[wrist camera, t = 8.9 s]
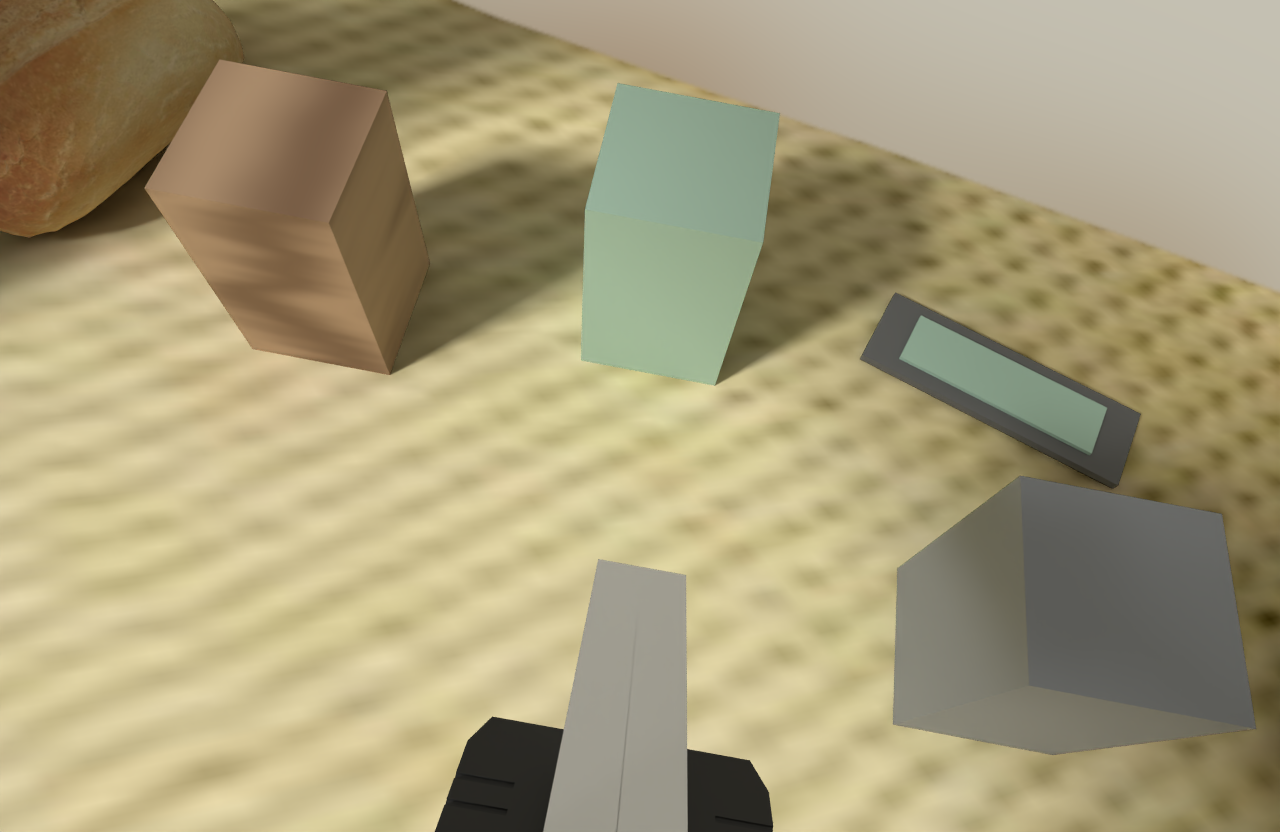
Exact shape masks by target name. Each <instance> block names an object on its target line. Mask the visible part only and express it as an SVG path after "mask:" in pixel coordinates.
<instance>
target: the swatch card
mask: <svg viewBox="0 0 1280 832" xmlns="http://www.w3.org/2000/svg"><path fill="white" fill-rule="evenodd" d="M860 359H861V360H863V361H865V362H867V363H869V364H871V365H872V366H874V367H876V368H878V369H880V370H882V371H884V372H886V373H888V374H890V375H892V376H894V377H896V378H898V379H900V380H902V381H904V382H906V383H908V384H910V385H912V386H913V387H915V388H917V389H919V390H921V391H923V392H925V393H927V394H929V395H931V396H933V397H935V398H937V399H939V400H941V401H943V402H945V403H947V404H949V405H951V406H952V407H954V408H956V409H958V410H960V411H962V412H964V413H966V414H968V415H970V416H972V417H974V418H976V419H978V420H980V421H982V422H984V423H986V424H988V425H990V426H992V427H993V428H995V429H997V430H999V431H1001V432H1003V433H1005V434H1007V435H1009V436H1011V437H1013V438H1015V439H1017V440H1019V441H1021V442H1023V443H1025V444H1027V445H1029V446H1031V447H1032V448H1034V449H1036V450H1038V451H1040V452H1042V453H1044V454H1046V455H1048V456H1050V457H1052V458H1054V459H1056V460H1058V461H1060V462H1062V463H1064V464H1066V465H1068V466H1070V467H1072V468H1073V469H1075V470H1077V471H1079V472H1081V473H1083V474H1085V475H1087V476H1089V477H1091V478H1093V479H1095V480H1097V481H1099V482H1101V483H1103V484H1105V485H1107V486H1109V487H1111V488H1112V489H1113V488H1114V487H1116V486H1118V484H1119V481H1120V478H1121V475H1122V472H1123V469H1124V465H1125V462H1126V459H1127V456H1128V453H1129V450H1130V446H1131V443H1132V440H1133V437H1134V434H1135V431H1136V427H1137V424H1138V421H1139V418H1140V415H1141V414H1140V413H1138V412H1136V411H1134V410H1132V409H1130V408H1128V407H1126V406H1124V405H1122V404H1120V403H1118V402H1116V401H1114V400H1112V399H1110V398H1108V397H1106V396H1104V395H1101V394H1099V393H1097V392H1095V391H1093V390H1091V389H1089V388H1087V387H1085V386H1083V385H1081V384H1079V383H1077V382H1075V381H1073V380H1071V379H1069V378H1067V377H1065V376H1063V375H1061V374H1059V373H1057V372H1055V371H1053V370H1051V369H1049V368H1047V367H1045V366H1043V365H1041V364H1039V363H1037V362H1035V361H1033V360H1031V359H1029V358H1027V357H1025V356H1023V355H1021V354H1019V353H1017V352H1015V351H1013V350H1011V349H1008V348H1006V347H1004V346H1002V345H1000V344H998V343H996V342H994V341H992V340H990V339H988V338H986V337H984V336H982V335H980V334H978V333H976V332H974V331H972V330H970V329H968V328H966V327H964V326H962V325H960V324H958V323H956V322H954V321H952V320H950V319H948V318H946V317H944V316H942V315H940V314H938V313H936V312H934V311H932V310H930V309H928V308H926V307H924V306H922V305H920V304H917V303H915V302H913V301H911V300H909V299H907V298H905V297H903V296H901V295H899V294H897V293H895V294H894V295H893V297H892V299H891V301H890V303H889V305H888V306H887V308H886V310H885V312H884V314H883V316H882V318H881V320H880V322H879V324H878V326H877V327H876V329H875V331H874V333H873V335H872V337H871V339H870V341H869V343H868V345H867V347H866V348H865V350H864V352H863V354H862V356H861V358H860Z"/></svg>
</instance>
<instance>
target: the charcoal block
mask: <svg viewBox="0 0 1280 832" xmlns="http://www.w3.org/2000/svg"><path fill="white" fill-rule="evenodd" d="M893 725H899V726H904V727H909V728H914V729H919V730H925V731H930V732H935V733H940V734H946V735H951V736H956V737H961V738H967V739H972V740H977V741H982V742H987V743H993V744H998V745H1003V746H1008V747H1014V748H1019V749H1024V750H1029V751H1035V752H1040V753H1045V754H1050V755H1056V754H1064V753H1072V752H1080V751H1088V750H1095V749H1103V748H1111V747H1119V746H1127V745H1134V744H1142V743H1150V742H1158V741H1166V740H1173V739H1181V738H1189V737H1197V736H1204V735H1212V734H1220V733H1228V732H1236V731H1243V730H1251V729H1256V725H1255V719H1254V712H1253V706H1252V700H1251V694H1250V687H1249V681H1248V675H1247V668H1246V662H1245V656H1244V650H1243V643H1242V637H1241V631H1240V624H1239V618H1238V612H1237V606H1236V599H1235V593H1234V587H1233V580H1232V574H1231V568H1230V562H1229V555H1228V549H1227V543H1226V536H1225V530H1224V524H1223V518H1222V514H1220V513H1214V512H1209V511H1204V510H1198V509H1193V508H1188V507H1183V506H1177V505H1172V504H1167V503H1162V502H1156V501H1151V500H1146V499H1140V498H1135V497H1130V496H1125V495H1119V494H1114V493H1109V492H1103V491H1098V490H1093V489H1088V488H1082V487H1077V486H1072V485H1067V484H1061V483H1056V482H1051V481H1045V480H1040V479H1035V478H1030V477H1024V476H1019V477H1018V478H1017V479H1015V480H1014V481H1013V482H1011V483H1010V484H1009V485H1007V486H1006V487H1005V488H1003V489H1002V490H1001V491H999V492H998V493H997V494H995V495H994V496H993V497H991V498H990V499H989V500H987V501H986V502H985V503H983V504H982V505H981V506H979V507H978V508H977V509H976V510H974V511H973V512H972V513H970V514H969V515H968V516H966V517H965V518H964V519H962V520H961V521H960V522H958V523H957V524H956V525H954V526H953V527H952V528H950V529H949V530H948V531H946V532H945V533H944V534H942V535H941V536H940V537H938V538H937V539H936V540H934V541H933V542H932V543H931V544H929V545H928V546H927V547H925V548H924V549H923V550H921V551H920V552H919V553H917V554H916V555H915V556H913V557H912V558H911V559H909V560H908V561H907V562H905V563H904V564H903V565H901V566H900V567H899V568H897V602H896V636H895V670H894V704H893Z"/></svg>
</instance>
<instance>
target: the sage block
mask: <svg viewBox="0 0 1280 832" xmlns="http://www.w3.org/2000/svg"><path fill="white" fill-rule="evenodd" d="M779 116H780V113H775V112H770V111H764V110H759V109H754V108H748V107H743V106H738V105H732V104H727V103H721V102H716V101H711V100H705V99H700V98H695V97H689V96H684V95H679V94H673V93H668V92H662V91H657V90H652V89H646V88H641V87H636V86H630V85H625V84H620V83H618V84H617V88H616V92H615V96H614V99H613V103H612V107H611V111H610V115H609V119H608V123H607V126H606V130H605V134H604V138H603V142H602V146H601V150H600V153H599V157H598V161H597V165H596V169H595V173H594V177H593V180H592V184H591V188H590V192H589V196H588V200H587V204H586V207H585V228H584V266H583V303H582V341H581V360H582V361H587V362H592V363H598V364H603V365H608V366H614V367H619V368H624V369H630V370H635V371H640V372H645V373H651V374H656V375H661V376H667V377H672V378H677V379H683V380H688V381H693V382H699V383H704V384H709V385H714V386H715V384H716V381H717V378H718V375H719V372H720V369H721V366H722V363H723V360H724V357H725V354H726V351H727V348H728V345H729V342H730V339H731V336H732V333H733V330H734V327H735V324H736V321H737V318H738V316H739V313H740V310H741V307H742V304H743V301H744V298H745V295H746V292H747V289H748V286H749V283H750V280H751V277H752V274H753V271H754V268H755V265H756V262H757V259H758V256H759V253H760V250H761V247H762V244H763V240H764V232H765V224H766V216H767V209H768V201H769V193H770V185H771V178H772V170H773V162H774V154H775V147H776V139H777V131H778V123H779Z"/></svg>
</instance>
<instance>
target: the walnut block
mask: <svg viewBox="0 0 1280 832" xmlns="http://www.w3.org/2000/svg"><path fill="white" fill-rule="evenodd" d="M145 190H146V191H147V193H148V194H149V196H150V197H151V199H152V200H153V202H154V203H155V205H156V206H157V208H158V209H159V211H160V212H161V214H162V215H163V217H164V218H165V220H166V221H167V223H168V224H169V225H170V227H171V228H172V230H173V231H174V233H175V234H176V236H177V237H178V239H179V240H180V242H181V243H182V245H183V246H184V248H185V249H186V251H187V252H188V254H189V255H190V257H191V258H192V260H193V261H194V263H195V264H196V266H197V267H198V269H199V270H200V272H201V273H202V274H203V276H204V277H205V279H206V280H207V282H208V283H209V285H210V286H211V288H212V289H213V291H214V292H215V294H216V295H217V297H218V298H219V300H220V301H221V303H222V304H223V306H224V307H225V309H226V310H227V312H228V313H229V315H230V316H231V318H232V319H233V320H234V322H235V323H236V325H237V326H238V328H239V329H240V331H241V332H242V334H243V335H244V337H245V338H246V340H247V341H248V343H249V344H250V346H251V347H252V349H256V350H261V351H267V352H272V353H277V354H282V355H288V356H293V357H298V358H303V359H309V360H314V361H319V362H324V363H330V364H335V365H340V366H345V367H351V368H356V369H361V370H366V371H372V372H377V373H382V374H387V375H390V373H391V371H392V368H393V365H394V362H395V360H396V357H397V354H398V351H399V348H400V346H401V343H402V340H403V337H404V334H405V332H406V329H407V326H408V323H409V320H410V318H411V315H412V312H413V309H414V306H415V304H416V301H417V298H418V295H419V293H420V290H421V287H422V284H423V281H424V279H425V276H426V273H427V270H428V267H429V265H430V262H429V258H428V254H427V250H426V246H425V242H424V238H423V234H422V230H421V226H420V222H419V218H418V214H417V210H416V206H415V202H414V198H413V194H412V190H411V186H410V182H409V178H408V174H407V170H406V166H405V162H404V158H403V154H402V150H401V146H400V142H399V138H398V134H397V130H396V126H395V122H394V118H393V114H392V110H391V106H390V102H389V98H388V94H387V91H384V90H379V89H374V88H368V87H363V86H358V85H353V84H347V83H342V82H337V81H331V80H326V79H321V78H315V77H310V76H305V75H299V74H294V73H289V72H284V71H278V70H273V69H268V68H262V67H257V66H252V65H246V64H241V63H236V62H230V61H225V60H220V59H219V61H218V63H217V65H216V66H215V68H214V70H213V71H212V73H211V75H210V77H209V78H208V80H207V82H206V83H205V85H204V87H203V89H202V90H201V92H200V94H199V95H198V97H197V99H196V100H195V102H194V104H193V106H192V107H191V109H190V111H189V112H188V114H187V116H186V118H185V119H184V121H183V123H182V124H181V126H180V128H179V130H178V131H177V133H176V135H175V136H174V138H173V140H172V142H171V143H170V145H169V147H168V148H167V150H166V152H165V154H164V155H163V157H162V159H161V160H160V162H159V164H158V165H157V167H156V169H155V171H154V172H153V174H152V176H151V177H150V179H149V181H148V183H147V184H146V186H145Z"/></svg>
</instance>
